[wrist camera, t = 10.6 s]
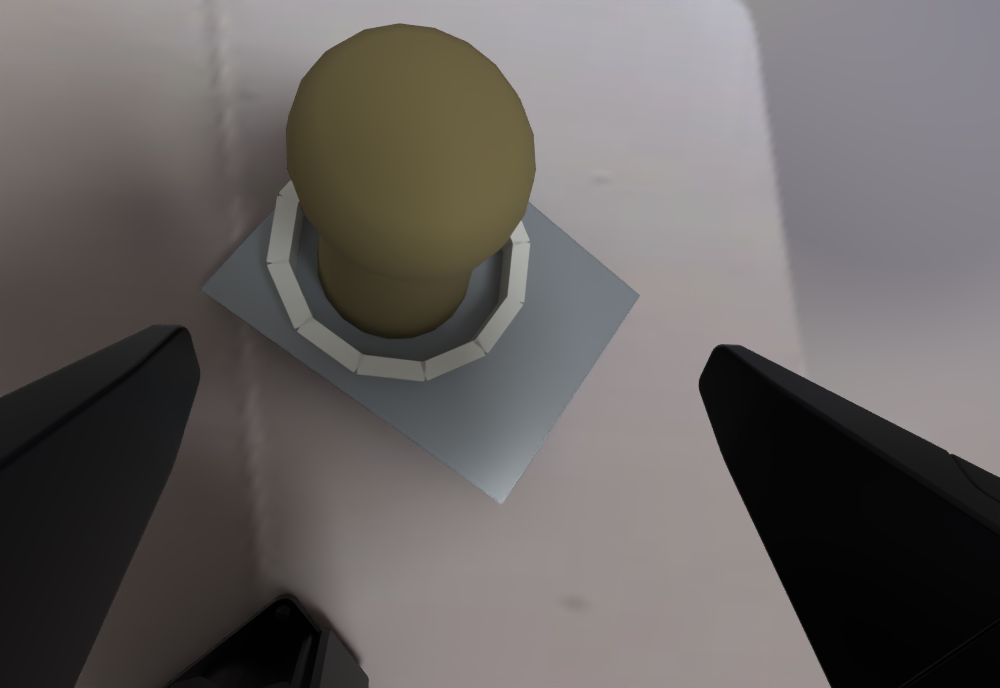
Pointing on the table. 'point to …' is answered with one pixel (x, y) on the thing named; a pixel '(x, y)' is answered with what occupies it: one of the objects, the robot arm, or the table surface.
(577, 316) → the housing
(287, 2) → the table surface
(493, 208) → the olive pawn
